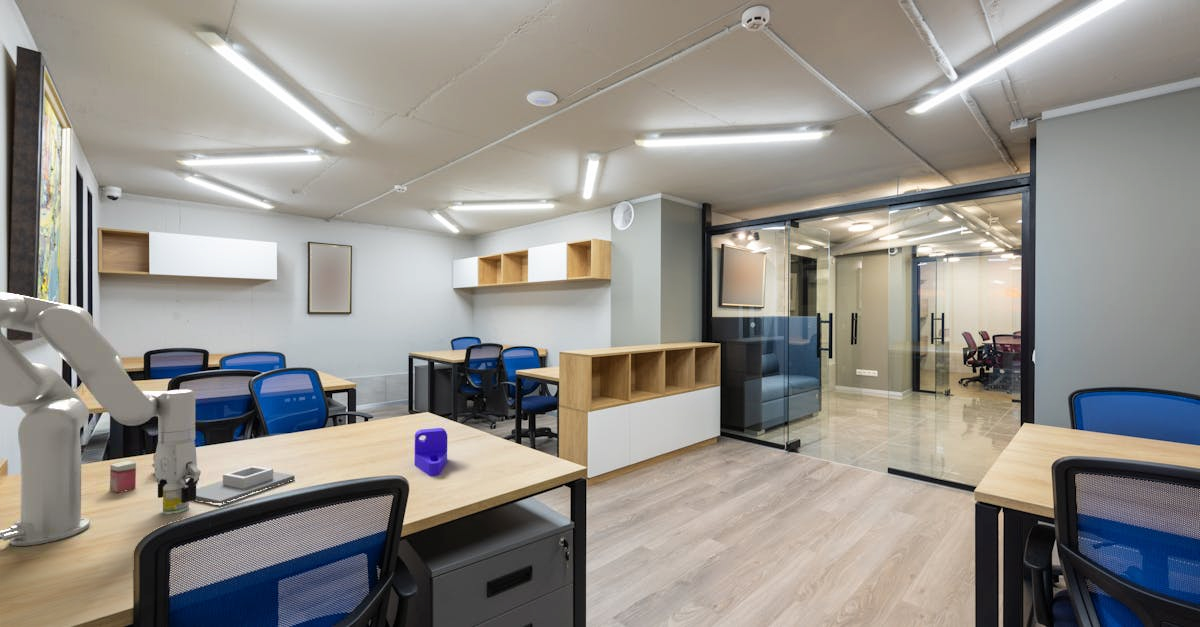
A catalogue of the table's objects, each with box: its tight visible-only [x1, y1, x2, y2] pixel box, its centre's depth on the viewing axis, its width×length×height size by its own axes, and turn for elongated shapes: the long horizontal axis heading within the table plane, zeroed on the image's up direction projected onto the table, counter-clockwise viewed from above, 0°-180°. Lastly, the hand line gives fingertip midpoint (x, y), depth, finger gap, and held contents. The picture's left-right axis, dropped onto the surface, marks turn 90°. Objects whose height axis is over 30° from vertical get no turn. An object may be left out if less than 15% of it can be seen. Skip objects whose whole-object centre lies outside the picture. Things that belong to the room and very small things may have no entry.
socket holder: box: [195, 465, 295, 504], centre depth 144 cm, size 22×16×4 cm
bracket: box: [414, 427, 448, 477], centre depth 166 cm, size 18×11×12 cm, turn 24°
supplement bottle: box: [162, 475, 190, 515], centre depth 128 cm, size 5×5×10 cm
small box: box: [109, 460, 137, 493], centre depth 142 cm, size 5×4×8 cm
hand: (176, 498), depth 128 cm, fingers open, 9 cm apart
